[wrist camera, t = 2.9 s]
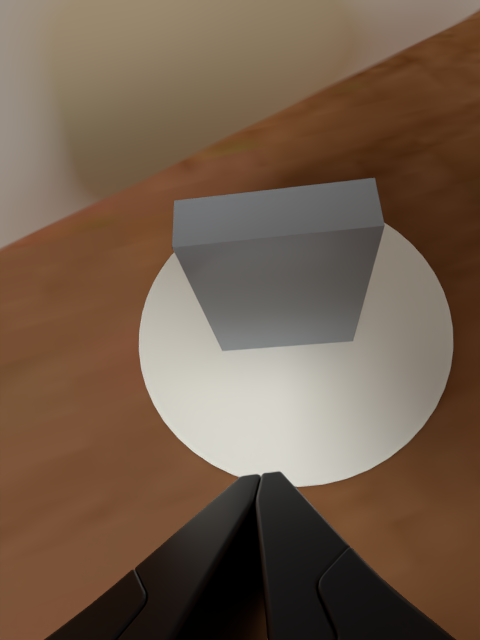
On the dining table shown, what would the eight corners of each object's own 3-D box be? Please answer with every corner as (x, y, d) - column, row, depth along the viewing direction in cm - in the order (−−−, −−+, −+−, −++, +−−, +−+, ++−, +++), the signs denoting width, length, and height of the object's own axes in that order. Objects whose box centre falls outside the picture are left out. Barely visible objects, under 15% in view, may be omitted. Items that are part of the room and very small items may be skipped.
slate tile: (353, 341, 23) (384, 225, 14) (222, 351, 24) (172, 247, 15) (348, 307, 24) (374, 177, 15) (221, 317, 25) (174, 200, 16)
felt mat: (476, 238, 25) (479, 232, 25) (409, 546, 19) (412, 547, 19) (209, 181, 30) (208, 175, 29) (89, 416, 24) (85, 414, 23)
